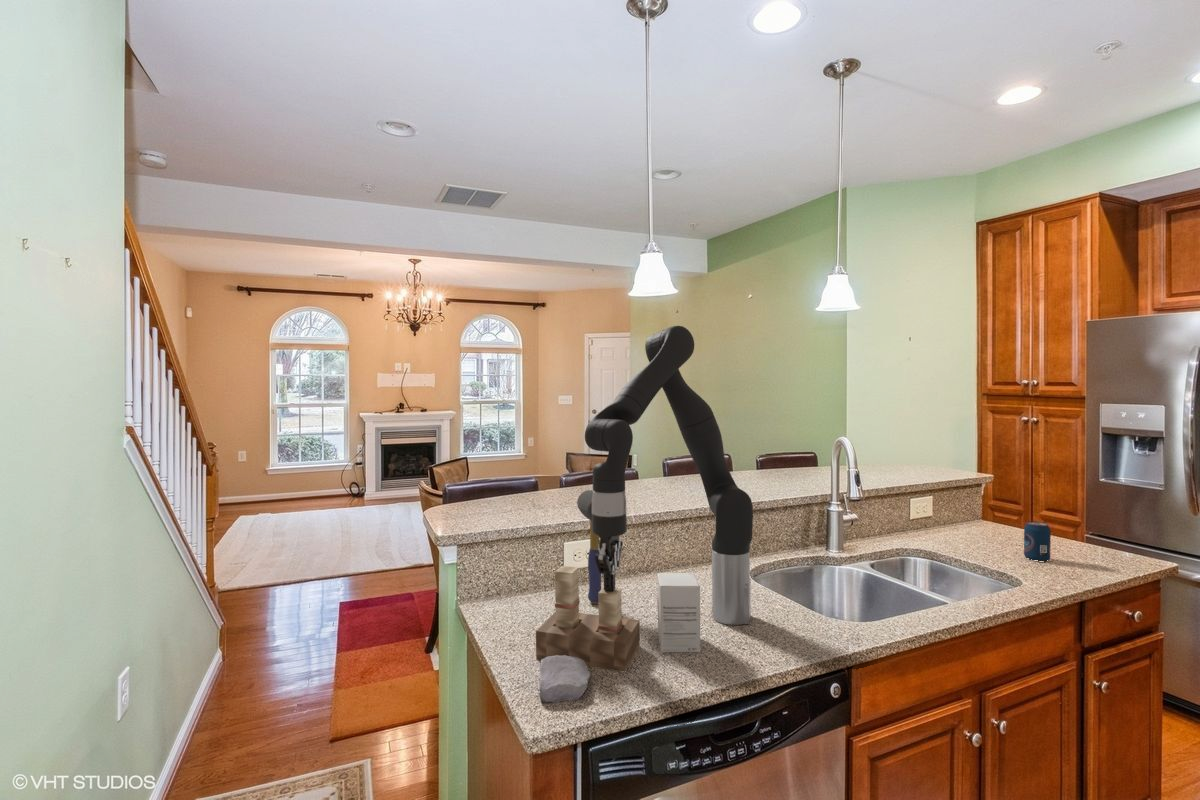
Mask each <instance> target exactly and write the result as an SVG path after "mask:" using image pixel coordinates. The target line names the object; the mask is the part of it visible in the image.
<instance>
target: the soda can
mask: <svg viewBox="0 0 1200 800" xmlns="http://www.w3.org/2000/svg"><path fill="white" fill-rule="evenodd" d="M1023 529H1024V530H1023V536H1024V537H1023V555H1024V557H1025V558H1026V559H1027V558H1029V559H1032V560H1038V561H1047V560H1048V561H1049V560H1050V559H1051V547H1052V546H1051V539H1052V537H1051V531H1052V530H1051V528H1050V526H1049V523H1046V522H1041V521H1035V520H1032V521H1031V520H1028V521H1026V523H1025V525H1024V528H1023ZM1048 561H1047V562H1048Z"/></svg>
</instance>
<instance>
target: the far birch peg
mask: <svg viewBox="0 0 1200 800" xmlns="http://www.w3.org/2000/svg"><path fill="white" fill-rule="evenodd" d="M579 578H580V577H579V567H576V566H575V567H574V566H564V565H562V566H560V567H559V568H557V569H556V570H555V571H554V584H555V585H554V587H555V590H554V594H555V597H554V598H555V603H554V608H555V612H556V627H563V628H571V629H575V628H576V626H577V625H578V624H579V613H580V595H579V594H580V588H579V587H580V586H579V584H580V583H579V582H580V581H579Z"/></svg>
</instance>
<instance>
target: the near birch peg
mask: <svg viewBox="0 0 1200 800" xmlns="http://www.w3.org/2000/svg"><path fill="white" fill-rule="evenodd" d="M597 604H598V615H599V625H598V630H599V632H601V633H609V634H617V635H619V633H620V632H621V630H622V618H623V615H622V612H623V611H622V609H623V608H622V587H615V590H614V591H613V592H608V591H605V590H604V586H603V587H601V590H600V591H599V593H598V603H597Z"/></svg>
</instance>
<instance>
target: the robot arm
mask: <svg viewBox="0 0 1200 800" xmlns="http://www.w3.org/2000/svg"><path fill="white" fill-rule="evenodd" d="M644 348H645V350H644V351H645V354H646V358H647V361H648V364H646V366H645V367H643V368H642V369H641V370H640V371H639V372H637V373H636V374H635V375H634V376H632V378H631V379H629V380H628V381H627V382H626V384H625V385H624V387H622V389H621V390H620V391H619V393H618V395H617V396H616V397H615V398H614V399H613V401H612V402H611V403H610V404H608V405H607V406H605V407H604V408H603V409H602V410H601V411H599V412H598V413H597V414H596V415H594V416H593V417H592V419H590V421H589V422H588V423H587V425H586V428H585V430H584V442H585V444H586V445H587V446H588V447H589V448H590V449H592V450H594V451H597V452H608V454H607V456H606V460H605V461H603V462H599V463H596V464H595V465H594V466H593V468H592V490H593V495H592V532H593V533H594V534H595V535H598V536H599V539H600V542H599V543H598V550H599V554H596V555H595V560H596V563H597V566H598V569H599V572H600V574H601V575H603V587H604V590H605V591H608V592H613V591H614V590H615V588H616V573H617V571H618V568H619V566H620V562H621V555H622V552H623V551H622V549H623V545H624V544H623V543H624V542H623V541H622V540H620V536H623V535H625V534H626V533H627V531H628V530H627V523H628V522H627V496H626V470H627V466H628V463H629V458H630V453H631V449H632V446H633V440H634V439H633V438H634V437H633V435H634V434H633V431H632V428H631V426H632V425H634V424H636V423H637V422H638V421H639V420H640V419H641V417H642V416H643V414H644V413H645V411H646V410H647V408H648V407H649V405H650V404H651V402H652V401H653V400H654V398H655V397H656V395H658V393H659V391H660V390H661V389H662V390H663V392H664V393H665V396H666V399H667V402H668V403H669V405H670V408H671V410H672V413H673V415H674V417H675V420H676V424H677V426H678V428H679V431H680V434H681V436H682V439H683V442H684V444H685V445H686V447H687V449H688V452H689V454H690V456H691V459H692V461H693V462H694V465H695V467H696V468H697V470H698V471H697V472H699V475H700V478H701V483H702V485H703V488H704V492H705V494H706V499H707V503H708V506H709V509H710V511H711V513H712V514H713V515H714V516H715V534H714V536H713V538H712V539H711V590H712V591H711V601H712V603H711V605H712V606H711V610H712V611H711V612H712V613H711V614H712V618H713V620H715V621H716V622H718V623H721V624H724V625H732V626H739V625H749V624H750V622H751V621H750V619H751V617H752V616H751V615H752V613H751V607H752V606H751V605H752V603H751V598H752V597H751V595H752V593H751V591H752V590H751V589H752V588H751V582H752V581H751V576H750V574H751V568H750V567H751V565H750V564H751V563H750V561H751V560H750V559H751V556H750V553H751V552H750V550H751V548H750V547H751V543H752V540H753V531H754V530H753V528H754V527H753V526H754V525H753V524H754V510H753V509H754V506H753V501H752V499H751V496H750V495H749V494H748V493H747V492H746V491H744V490H743V489H741V488H739V487H738V485H737V484H736V482H735V480H734V478H733V476H732V474H731V471H730V469H729V467H728V465H727V463H726V457H725V451H724V450H725V449H724V442H723V438H722V432H721V429H720V427H719V425H718V422H717V419H716V417H715V414H714V412H713V410H712V408H711V406H710V405H709V404H708V402H707V401H706V400H704V399H703V398H702V397H701V396H700V395H699V394H698V393H697V392H696V391H695V390H693V389H692V388H691V386H689V385H688V383H687V382H686V381H685V379H684V378H683V376H682V373H681V372H680V368H682V366H683V365H684V364H685V363H686V362H687V361H688V360H689V359H690V358H691V357H692V355H693V354H694V350H695V340H694V336H693V335H692V333H691V332H690V330H689V329H688V328H686V327H684V326H683V325H674V326H673V325H672V326H669V327H667V328H665V329H663V330H660V331H658V332H656V333H653V334H651V335H650V336H648V337H647V338H646V341H645V346H644Z"/></svg>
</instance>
